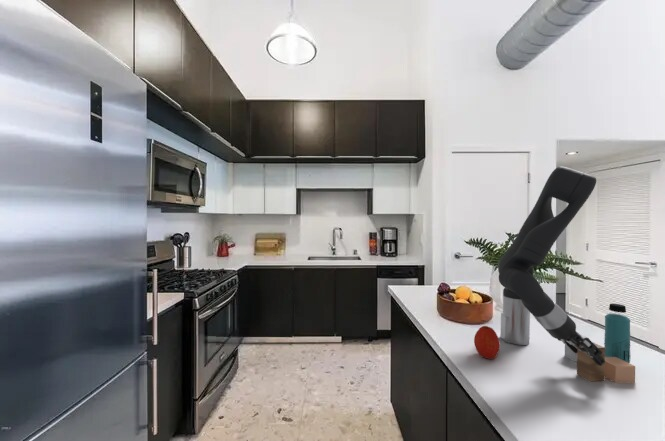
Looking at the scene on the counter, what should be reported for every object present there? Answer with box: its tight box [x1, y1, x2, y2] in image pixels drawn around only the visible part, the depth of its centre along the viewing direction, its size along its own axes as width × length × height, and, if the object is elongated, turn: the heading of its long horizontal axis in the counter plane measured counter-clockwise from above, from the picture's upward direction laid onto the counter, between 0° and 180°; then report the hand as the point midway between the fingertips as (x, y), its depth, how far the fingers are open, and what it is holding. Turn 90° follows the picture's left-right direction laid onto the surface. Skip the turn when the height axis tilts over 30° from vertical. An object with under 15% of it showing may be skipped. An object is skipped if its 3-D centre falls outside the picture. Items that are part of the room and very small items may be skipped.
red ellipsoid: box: [473, 325, 501, 360], centre depth 107 cm, size 8×8×11 cm
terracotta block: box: [604, 357, 636, 384], centre depth 94 cm, size 6×6×5 cm
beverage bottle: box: [603, 303, 632, 364], centre depth 102 cm, size 6×7×20 cm
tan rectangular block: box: [576, 341, 605, 383], centre depth 94 cm, size 4×4×10 cm
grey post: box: [564, 333, 589, 363], centre depth 107 cm, size 4×4×8 cm
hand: (589, 356), depth 94 cm, fingers open, 8 cm apart
